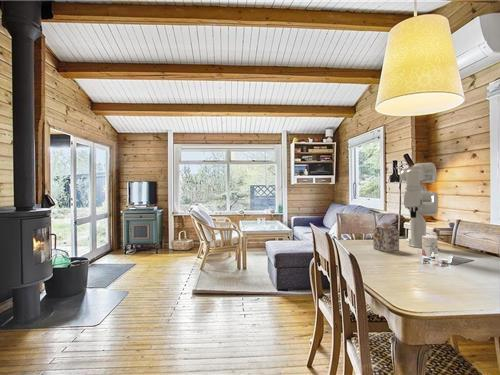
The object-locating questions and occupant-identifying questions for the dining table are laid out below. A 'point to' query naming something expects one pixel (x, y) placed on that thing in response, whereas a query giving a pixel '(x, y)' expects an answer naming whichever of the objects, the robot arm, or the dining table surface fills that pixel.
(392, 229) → the decorative jar
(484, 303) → the dining table surface
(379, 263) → the dining table surface
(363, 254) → the dining table surface
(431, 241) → the ink cartridge box
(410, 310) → the dining table surface
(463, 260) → the mat
